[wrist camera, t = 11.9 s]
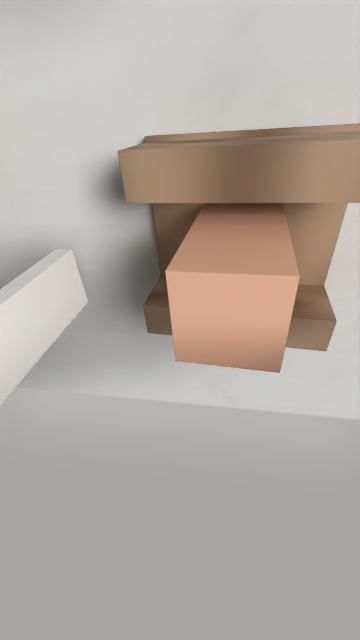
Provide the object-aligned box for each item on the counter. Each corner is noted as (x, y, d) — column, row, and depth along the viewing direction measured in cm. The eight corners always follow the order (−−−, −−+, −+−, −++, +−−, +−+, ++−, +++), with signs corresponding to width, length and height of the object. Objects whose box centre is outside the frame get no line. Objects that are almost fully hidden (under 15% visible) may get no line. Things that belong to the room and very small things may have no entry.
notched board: (166, 299, 20) (148, 335, 17) (148, 135, 14) (116, 144, 11) (313, 311, 18) (324, 354, 15) (366, 123, 12) (403, 128, 9)
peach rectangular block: (204, 203, 15) (165, 270, 9) (282, 202, 14) (299, 276, 8) (205, 270, 17) (175, 360, 11) (272, 273, 16) (279, 372, 10)
